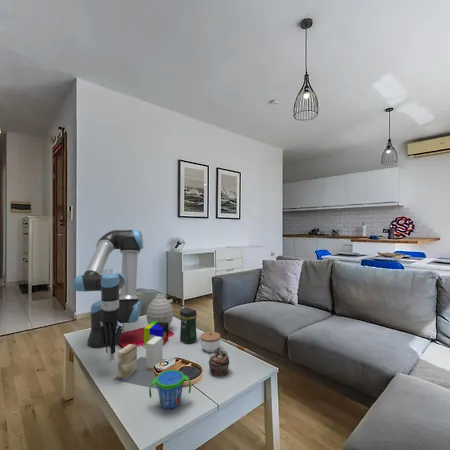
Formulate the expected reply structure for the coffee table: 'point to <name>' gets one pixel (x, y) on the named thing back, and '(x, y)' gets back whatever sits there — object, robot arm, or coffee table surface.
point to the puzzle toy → (156, 331)
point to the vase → (160, 310)
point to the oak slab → (127, 362)
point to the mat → (141, 375)
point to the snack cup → (170, 387)
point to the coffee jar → (188, 325)
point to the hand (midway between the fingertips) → (110, 360)
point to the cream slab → (154, 352)
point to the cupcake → (219, 363)
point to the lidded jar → (210, 341)
